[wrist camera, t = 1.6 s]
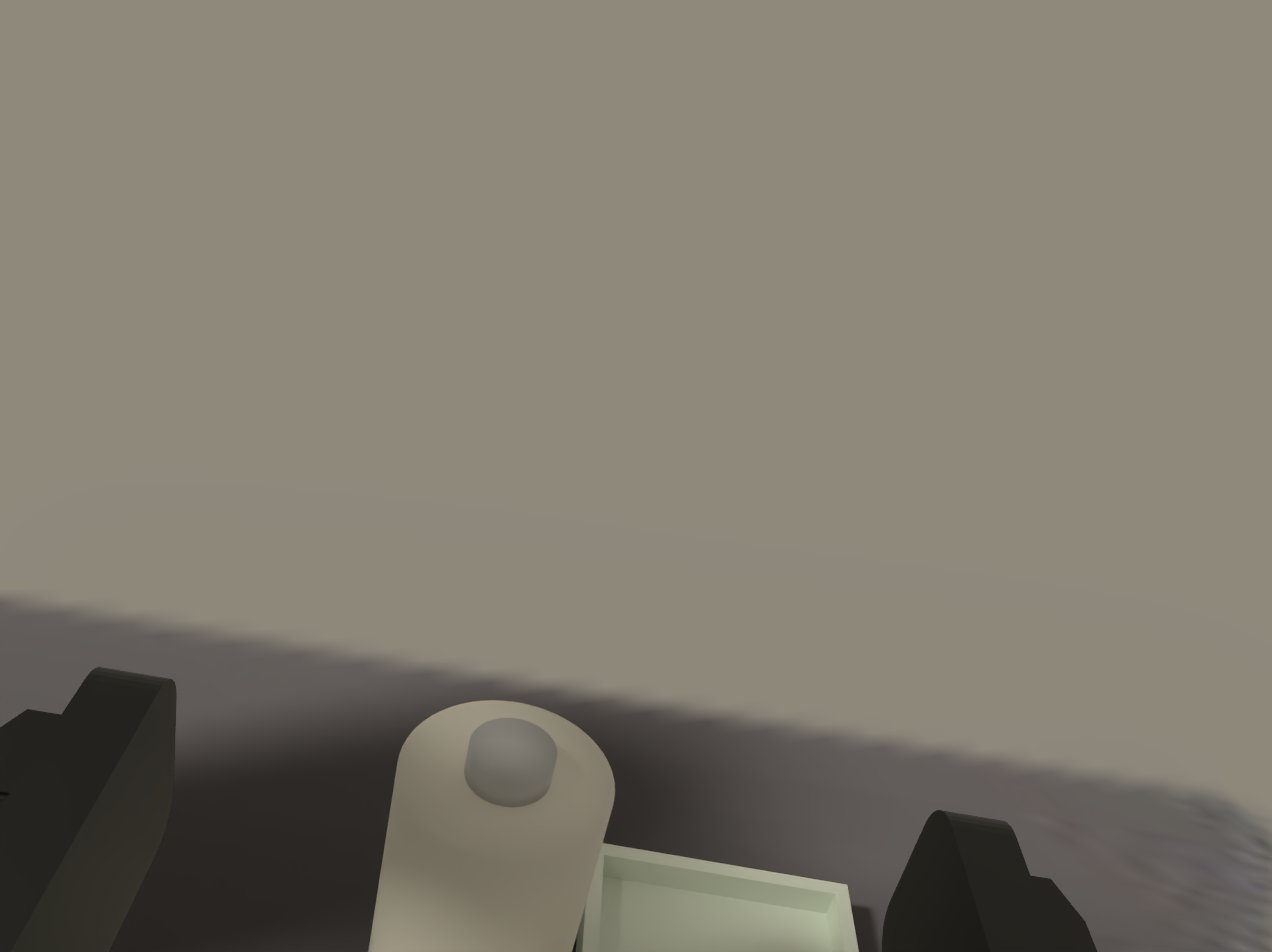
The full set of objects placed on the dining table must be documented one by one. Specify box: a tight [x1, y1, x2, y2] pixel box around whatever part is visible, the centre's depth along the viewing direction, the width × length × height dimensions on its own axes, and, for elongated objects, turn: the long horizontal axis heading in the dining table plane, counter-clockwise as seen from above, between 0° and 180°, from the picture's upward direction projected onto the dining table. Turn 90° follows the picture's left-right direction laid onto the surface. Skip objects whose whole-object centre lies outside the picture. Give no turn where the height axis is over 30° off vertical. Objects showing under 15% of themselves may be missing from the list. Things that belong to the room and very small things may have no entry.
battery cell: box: [368, 700, 615, 952], centre depth 29 cm, size 5×5×13 cm
